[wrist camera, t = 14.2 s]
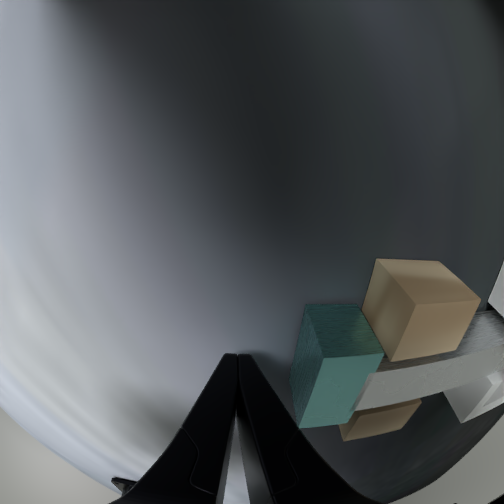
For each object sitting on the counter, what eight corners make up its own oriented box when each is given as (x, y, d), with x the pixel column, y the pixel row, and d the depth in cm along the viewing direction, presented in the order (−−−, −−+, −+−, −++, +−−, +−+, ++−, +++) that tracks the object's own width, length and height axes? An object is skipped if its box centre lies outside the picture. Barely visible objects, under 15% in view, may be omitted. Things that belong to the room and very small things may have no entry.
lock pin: (474, 351, 11) (495, 380, 9) (288, 378, 10) (298, 428, 8) (503, 295, 10) (531, 322, 7) (305, 304, 9) (324, 358, 7)
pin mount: (382, 387, 12) (400, 429, 9) (329, 394, 11) (342, 441, 9) (438, 261, 9) (480, 299, 6) (376, 258, 9) (415, 304, 6)
